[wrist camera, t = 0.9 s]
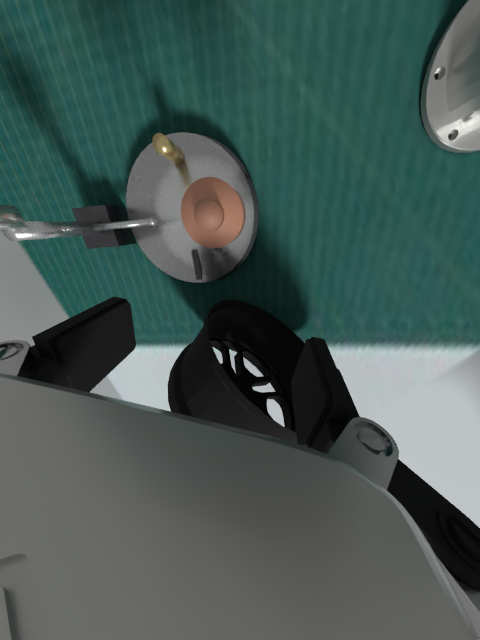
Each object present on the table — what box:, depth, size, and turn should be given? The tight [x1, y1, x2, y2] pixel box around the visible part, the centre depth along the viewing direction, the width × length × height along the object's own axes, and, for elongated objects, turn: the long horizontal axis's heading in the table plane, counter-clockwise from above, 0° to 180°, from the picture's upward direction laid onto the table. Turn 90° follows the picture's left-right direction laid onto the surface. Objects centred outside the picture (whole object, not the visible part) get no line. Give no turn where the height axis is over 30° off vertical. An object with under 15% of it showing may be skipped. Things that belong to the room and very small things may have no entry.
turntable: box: [126, 132, 255, 283], centre depth 24 cm, size 17×17×6 cm
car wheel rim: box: [168, 300, 305, 444], centre depth 27 cm, size 20×10×20 cm, turn 56°
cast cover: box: [181, 177, 246, 248], centre depth 23 cm, size 7×7×5 cm
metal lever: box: [0, 205, 157, 249], centre depth 22 cm, size 12×5×18 cm, turn 95°
